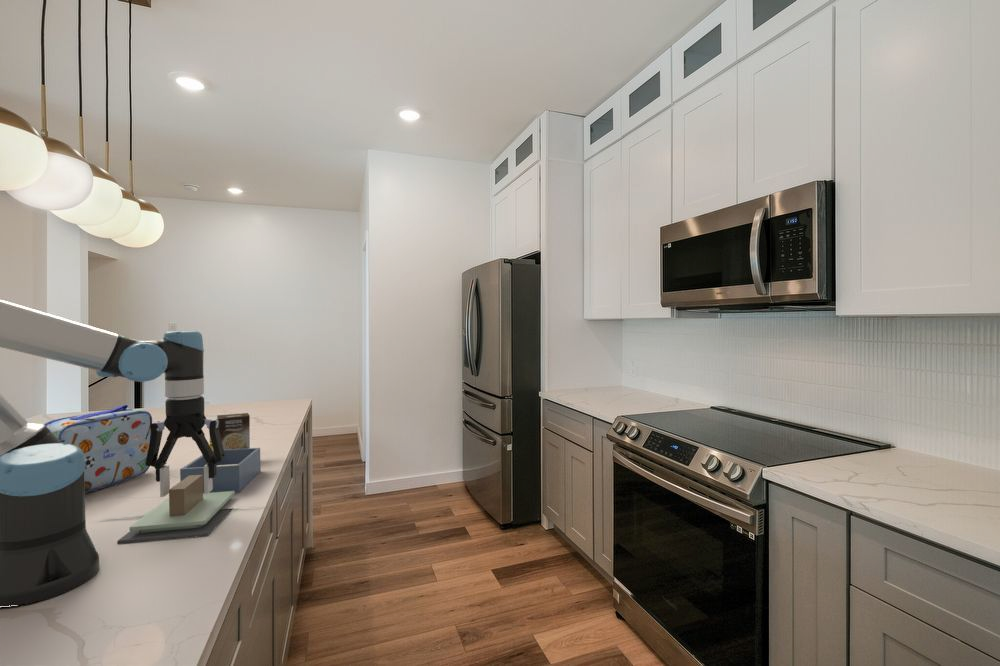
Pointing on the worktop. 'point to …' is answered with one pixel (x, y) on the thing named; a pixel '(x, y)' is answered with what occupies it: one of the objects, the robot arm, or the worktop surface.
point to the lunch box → (108, 443)
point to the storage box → (228, 469)
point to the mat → (175, 531)
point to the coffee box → (235, 431)
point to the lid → (184, 507)
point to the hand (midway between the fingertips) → (187, 493)
